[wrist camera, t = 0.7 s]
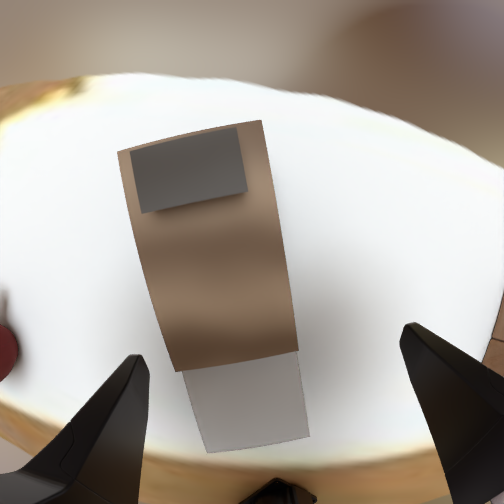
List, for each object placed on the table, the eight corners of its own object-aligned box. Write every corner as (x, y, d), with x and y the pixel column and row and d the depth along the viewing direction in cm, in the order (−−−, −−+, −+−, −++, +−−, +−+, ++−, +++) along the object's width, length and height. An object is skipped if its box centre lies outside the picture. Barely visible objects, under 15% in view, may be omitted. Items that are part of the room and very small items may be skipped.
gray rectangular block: (298, 406, 25) (309, 436, 20) (213, 420, 25) (207, 453, 20) (254, 170, 26) (256, 148, 20) (163, 188, 26) (144, 171, 20)
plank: (294, 339, 20) (307, 373, 16) (178, 359, 20) (169, 395, 16) (258, 124, 17) (267, 109, 13) (125, 153, 16) (99, 148, 13)
